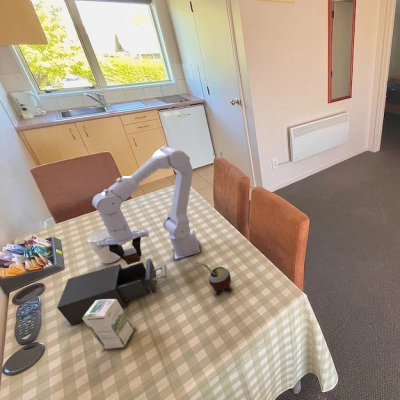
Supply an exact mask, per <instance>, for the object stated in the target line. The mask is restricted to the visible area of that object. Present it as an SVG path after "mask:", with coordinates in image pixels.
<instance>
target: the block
mask: <svg viewBox="0 0 400 400" xmlns="http://www.w3.org/2000/svg"><path fill="white" fill-rule="evenodd" d="M123 250H124V255H123V257H124V259H125V261H124V262H125V263H126V266H130V265H133V264H137V263H140V262H141V258H142V255H141V256H140V257H139V256H138V254H137V251H136V249H135V248H134V247H133V246H132V247H130V248H126V249H123Z"/></svg>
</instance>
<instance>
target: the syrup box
mask: <svg viewBox="0 0 400 400" xmlns="http://www.w3.org/2000/svg"><path fill="white" fill-rule="evenodd" d="M82 319H83V320H84V321H83V322H84V323H85V324H86V326H87V328H88V329H89V330H90V331H91V333H92V334H93V336H94V337H95V338H96V340H97V342H99V344H100V346H101V347H102V348H103V349H104V350H109V349H119V348H120V349H121V348H125V347H126V345H127V343H128V342H129V340H130V338H131V337H132V334H133V333H134V331H135V328H134V327H133V325H132V323H131V321H130V320H129V318H128V316H127V315H126V312H125V311H124V309H123V308H121V306H120V304H119V302H118V301H117V299H102V300H96V301H95V302H94V303H93V305H92V306H91V307H90V308H89V310H88V311H87V312H86V314H85V315H84V316H83V317H82Z"/></svg>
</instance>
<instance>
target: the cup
mask: <svg viewBox="0 0 400 400" xmlns="http://www.w3.org/2000/svg"><path fill="white" fill-rule="evenodd" d="M109 237H111V236H110V234H109V232H108V230H107V228H106V227H105V228H100V229H97V230H94V231H92V232H91V233H89V234H87V236H86V237H85V242H86V243H87V245H88V247H89V249H90V250H91V251H92V252H93V253H94V254H95V255H96V257H98V259H99V260H100V262H102V264H112V263H114V262H117V261H118V260H120V259H121V257H120V256H118V255H117V254H115V253H113V252H110V250H109V246H106V247H103V248H102V249H99V248H98V246H97V243H98V241H102V240H104V239H107V238H109Z"/></svg>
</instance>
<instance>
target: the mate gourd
mask: <svg viewBox="0 0 400 400" xmlns="http://www.w3.org/2000/svg"><path fill="white" fill-rule="evenodd" d="M194 264H195V265H199V266H200V265H201V266H203V267H204V268H206V269H207V270H208V271H209V274H208V282H209V285H210V286H211V287H212V289H213V290H214V291H215V292H216V293H215V294H216V295H217V296H219V295H220V294H221V293H222V291H227V292H231V288H230V283H231V279H232V277H231V273H230V271H229V270H228V269H227V268H226V267H225V266H224V267H223V266H218V267H217V266H216V267H215V268H213V269H211V268H210V267H209V266H208V265H207V263H202V262H194Z"/></svg>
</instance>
